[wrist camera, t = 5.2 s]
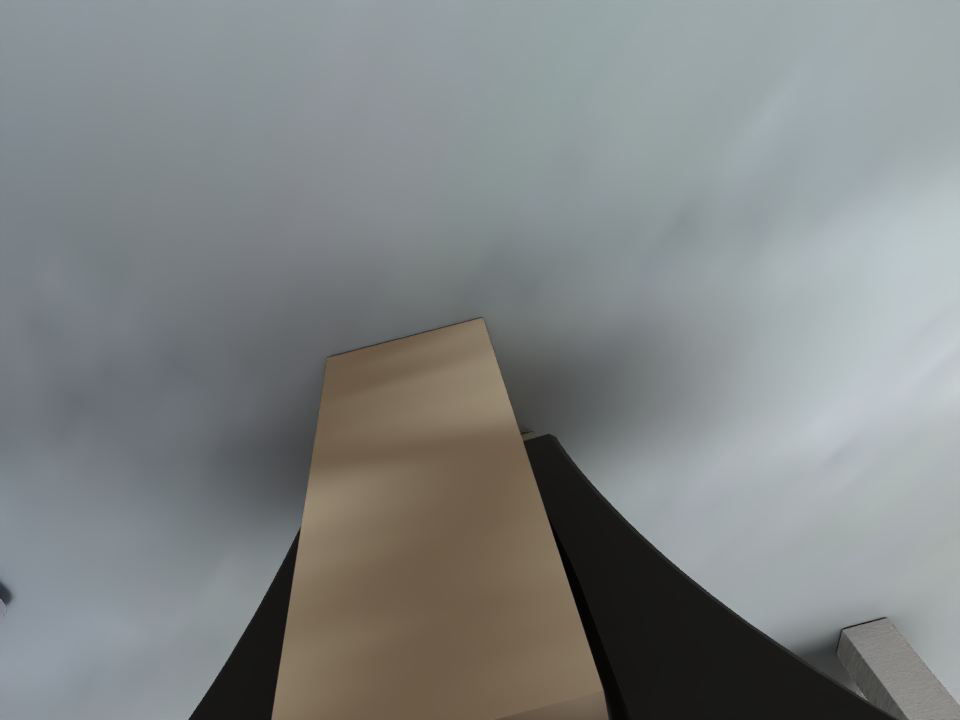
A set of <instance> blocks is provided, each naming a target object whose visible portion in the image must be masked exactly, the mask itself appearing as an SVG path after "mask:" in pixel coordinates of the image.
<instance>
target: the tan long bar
mask: <svg viewBox="0 0 960 720" xmlns="http://www.w3.org/2000/svg"><path fill="white" fill-rule="evenodd" d="M532 438H536V436H535V434H534V431H533V432H529V433H526V434H522V435H521V434H520V431H519V428H518V425H517V422H516V419H515V415H514V412H513V409H512V406H511V403H510V400H509V397H508V394H507V391H506V388H505V385H504V381H503V378H502V375H501V372H500V369H499V366H498V363H497V360H496V357H495V354H494V350H493V347H492V344H491V341H490V338H489V335H488V332H487V329H486V326H485V323H484V320H483V318H479V319H475V320H472V321H468V322H464V323H460V324H456V325H452V326H448V327H444V328H441V329H437V330H433V331H429V332H425V333H421V334H417V335H413V336H410V337H406V338H402V339H398V340H394V341H390V342H386V343H382V344H379V345H375V346H371V347H367V348H363V349H359V350H355V351H351V352H348V353H344V354H340V355H336V356H332V357H328V358H327V363H326V370H325V376H324V383H323V389H322V396H321V402H320V409H319V415H318V422H317V428H316V435H315V441H314V447H313V454H312V460H311V467H310V473H309V480H308V486H307V493H306V499H305V506H304V512H303V519H302V525H301V532H300V538H299V545H298V551H297V558H296V564H295V571H294V577H293V584H292V590H291V596H290V603H289V609H288V616H287V622H286V629H285V635H284V642H283V648H282V655H281V661H280V668H279V674H278V681H277V687H276V694H275V700H274V707H273V713H272V720H609V719H608V713H607V707H606V702H605V696H604V691H603V688H602V684H601V681H600V678H599V675H598V672H597V669H596V666H595V663H594V660H593V657H592V654H591V650H590V647H589V644H588V641H587V638H586V635H585V632H584V629H583V626H582V623H581V620H580V616H579V613H578V610H577V607H576V604H575V601H574V598H573V595H572V592H571V589H570V586H569V582H568V579H567V576H566V573H565V570H564V567H563V564H562V561H561V558H560V555H559V551H558V548H557V545H556V542H555V539H554V536H553V533H552V530H551V527H550V524H549V521H548V517H547V514H546V511H545V508H544V505H543V502H542V499H541V496H540V493H539V490H538V487H537V483H536V480H535V477H534V474H533V471H532V468H531V465H530V462H529V459H528V456H527V453H526V449H525V446H524V443H523V441H524V440H528V439H532Z"/></svg>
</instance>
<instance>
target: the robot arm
mask: <svg viewBox="0 0 960 720" xmlns="http://www.w3.org/2000/svg"><path fill="white" fill-rule="evenodd" d="M523 443H524V446H525V449H526V453H527V456H528V459H529V462H530V465H531V468H532V471H533V474H534V477H535V480H536V483H537V487H538V490H539V493H540V496H541V499H542V502H543V505H544V508H545V511H546V514H547V517H548V521H549V524H550V527H551V530H552V533H553V536H554V539H555V542H556V545H557V548H558V551H559V555H560V558H561V561H562V564H563V567H564V570H565V573H566V576H567V579H568V582H569V586H570V589H571V592H572V595H573V598H574V601H575V604H576V607H577V610H578V613H579V616H580V620H581V623H582V626H583V629H584V632H585V635H586V638H587V641H588V644H589V647H590V650H591V654H592V657H593V660H594V663H595V666H596V669H597V672H598V675H599V678H600V681H601V684H602V688H603V691H604V696H605V702H606V707H607V713H608V719H609V720H899V719H897V718H895V717H894V716H892V715H890V714H888V713H887V712H885V711H883V710H882V709H880V708H878V707H877V706H875V705H873V704H871V703H870V702H868V701H867V700H865V699H863V698H862V697H860V696H859V695H857V694H855V693H854V692H852V691H851V690H849V689H847V688H846V687H844V686H843V685H841V684H839V683H838V682H836V681H834V680H833V679H831V678H830V677H828V676H826V675H825V674H823V673H822V672H820V671H819V670H817V669H816V668H814V667H813V666H811V665H810V664H808V663H807V662H805V661H804V660H802V659H801V658H799V657H798V656H796V655H795V654H794V653H792V652H791V651H789V650H788V649H786V648H785V647H783V646H782V645H780V644H779V643H777V642H776V641H774V640H773V639H771V638H770V637H769V636H767V635H766V634H764V633H763V632H761V631H760V630H758V629H757V628H755V627H754V626H752V625H751V624H750V623H748V622H747V621H745V620H744V619H743V618H741V617H740V616H739V615H737V614H736V613H735V612H733V611H732V610H731V609H729V608H728V607H727V606H725V605H724V604H723V603H722V602H720V601H719V600H718V599H716V598H715V597H714V596H712V595H711V594H710V593H709V592H707V591H706V590H705V589H704V588H702V587H701V586H700V585H699V584H697V583H696V582H695V581H694V580H692V579H691V578H690V577H689V576H687V575H686V574H685V573H684V572H683V571H681V570H680V569H679V568H678V567H677V566H676V565H674V564H673V563H672V562H671V561H670V560H669V559H668V558H666V557H665V556H664V555H663V554H662V553H661V552H660V551H659V550H657V549H656V548H655V547H654V546H653V545H652V544H651V543H650V542H649V541H648V540H647V539H645V538H644V537H643V536H642V535H641V534H640V533H639V532H638V531H637V530H636V529H635V528H634V527H633V526H632V525H631V524H630V523H629V522H628V521H627V520H626V519H625V518H624V517H623V516H622V515H621V514H620V513H619V512H618V511H617V510H616V509H615V508H614V507H613V506H612V505H611V504H610V503H609V502H608V501H607V500H606V499H605V498H604V497H603V496H602V494H601V493H600V492H599V491H598V490H597V489H596V488H595V487H594V486H593V485H592V483H591V482H590V481H589V480H588V479H587V478H586V476H585V475H584V474H583V473H582V472H581V470H580V469H579V468H578V467H577V466H576V464H575V463H574V462H573V461H572V459H571V458H570V457H569V455H568V454H567V453H566V451H565V450H564V448H563V447H562V446H561V444H560V443H559V441H558V439H557V438H556V437H554V436H552V435H551V434H547V435H543V436H540V437H536V438H532V439H528V440H524V441H523ZM300 532H301V527H300V529H299V531H298V533H297V535H296V537H295V539H294V541H293V543H292V545H291V547H290V549H289V551H288V553H287V555H286V557H285V559H284V561H283V563H282V565H281V567H280V568H279V570H278V572H277V574H276V576H275V578H274V580H273V582H272V583H271V585H270V587H269V589H268V591H267V593H266V595H265V596H264V598H263V600H262V602H261V604H260V606H259V607H258V609H257V611H256V613H255V615H254V616H253V618H252V620H251V621H250V623H249V625H248V626H247V628H246V630H245V632H244V633H243V635H242V637H241V638H240V640H239V642H238V643H237V645H236V647H235V648H234V650H233V652H232V653H231V655H230V657H229V658H228V660H227V662H226V663H225V665H224V667H223V668H222V670H221V671H220V673H219V674H218V676H217V678H216V679H215V681H214V682H213V684H212V685H211V687H210V688H209V690H208V691H207V693H206V694H205V696H204V697H203V699H202V701H201V702H200V703H199V705H198V706H197V708H196V709H195V711H194V712H193V714H192V715H191V717H190V718H189V719H188V720H272V713H273V707H274V700H275V694H276V687H277V681H278V674H279V668H280V661H281V655H282V648H283V642H284V635H285V629H286V622H287V616H288V609H289V603H290V596H291V590H292V584H293V577H294V571H295V564H296V558H297V551H298V545H299V538H300ZM5 613H6V605H5V604H4V603H3V601H2V600H1V599H0V621H1V620H2V618H3V617H4V615H5Z"/></svg>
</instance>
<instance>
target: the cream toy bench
mask: <svg viewBox="0 0 960 720" xmlns="http://www.w3.org/2000/svg"><path fill="white" fill-rule="evenodd" d="M836 655H837V657H838V658H839V660H840V661H841V663H842V664H843V665H844V667H845V668H846V670H847V671H848V673H849V674H850V676H851V677H852V678H853V680H854V681H855V683H856V684H857V686H858V687H859V688H860V690H861V691H862V693H863V694H864V696H865V697H866V698H867V700H868V701H869V702H870V703H871V704H873V705H875V706H877V707H878V708H880V709H882V710H883V711H885V712H887V713H888V714H890V715H892V716H894V717H895V718H897V719H899V720H960V706H959V705H958V703H957V702H956V701H955V700H954V698H953V697H952V696H951V695H950V694H949V692H948V691H947V690H946V689H945V688H944V686H943V685H942V684H941V683H940V681H939V680H938V679H937V678H936V677H935V675H934V674H933V673H932V672H931V671H930V669H929V668H928V667H927V666H926V664H925V663H924V662H923V661H922V660H921V658H920V657H919V656H918V655H917V654H916V652H915V651H914V650H913V649H912V647H911V646H910V645H909V644H908V643H907V641H906V640H905V639H904V638H903V636H902V635H901V634H900V633H899V632H898V630H897V629H896V628H895V627H894V626H893V624H892V623H891V622H890V621H889V619H888V618H885V619H881V620H877V621H874V622H870V623H866V624H862V625H858V626H854V627H851V628H847V629H843V630H842V633H841V638H840V642H839V646H838V650H837V654H836Z"/></svg>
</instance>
